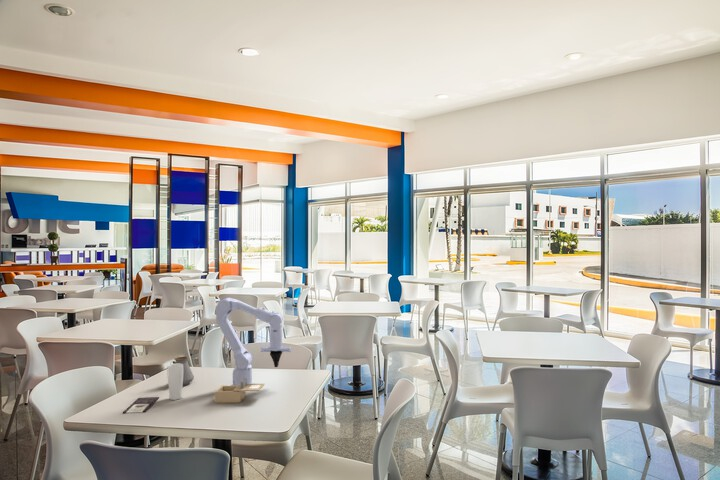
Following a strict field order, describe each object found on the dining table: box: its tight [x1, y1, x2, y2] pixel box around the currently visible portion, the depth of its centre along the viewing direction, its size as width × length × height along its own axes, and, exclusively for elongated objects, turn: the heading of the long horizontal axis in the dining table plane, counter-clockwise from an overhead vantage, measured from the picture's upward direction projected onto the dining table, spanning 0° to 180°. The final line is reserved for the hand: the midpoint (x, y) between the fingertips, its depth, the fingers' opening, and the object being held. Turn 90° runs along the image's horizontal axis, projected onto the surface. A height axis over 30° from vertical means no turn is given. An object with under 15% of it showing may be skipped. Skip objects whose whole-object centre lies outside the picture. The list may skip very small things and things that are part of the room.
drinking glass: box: [166, 363, 184, 401], centre depth 211 cm, size 7×7×15 cm
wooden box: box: [214, 385, 247, 404], centre depth 209 cm, size 11×9×5 cm
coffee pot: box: [169, 356, 195, 387], centre depth 229 cm, size 21×12×15 cm, turn 6°
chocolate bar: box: [122, 396, 160, 414], centre depth 203 cm, size 9×1×18 cm
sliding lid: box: [233, 378, 265, 392], centre depth 209 cm, size 11×9×4 cm
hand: (276, 366), depth 228 cm, fingers closed
